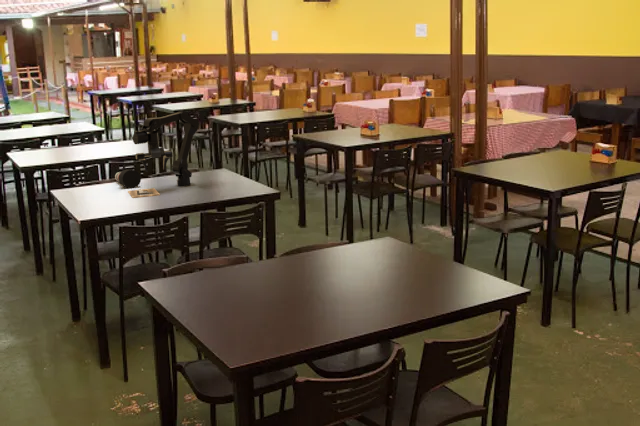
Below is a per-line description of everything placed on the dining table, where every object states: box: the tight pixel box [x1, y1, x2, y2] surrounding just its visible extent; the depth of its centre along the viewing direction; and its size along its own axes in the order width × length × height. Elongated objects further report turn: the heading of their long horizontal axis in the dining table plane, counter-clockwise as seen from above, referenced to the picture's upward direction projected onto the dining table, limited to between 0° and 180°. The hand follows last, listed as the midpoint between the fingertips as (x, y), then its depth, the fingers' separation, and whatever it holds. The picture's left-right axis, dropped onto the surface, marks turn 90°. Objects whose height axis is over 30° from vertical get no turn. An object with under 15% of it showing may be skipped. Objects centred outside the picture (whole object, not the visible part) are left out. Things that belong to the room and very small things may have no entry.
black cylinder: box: [114, 169, 142, 189], centre depth 400 cm, size 10×34×10 cm, turn 27°
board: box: [127, 187, 161, 199], centre depth 367 cm, size 14×18×4 cm
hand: (155, 171), depth 372 cm, fingers open, 9 cm apart
